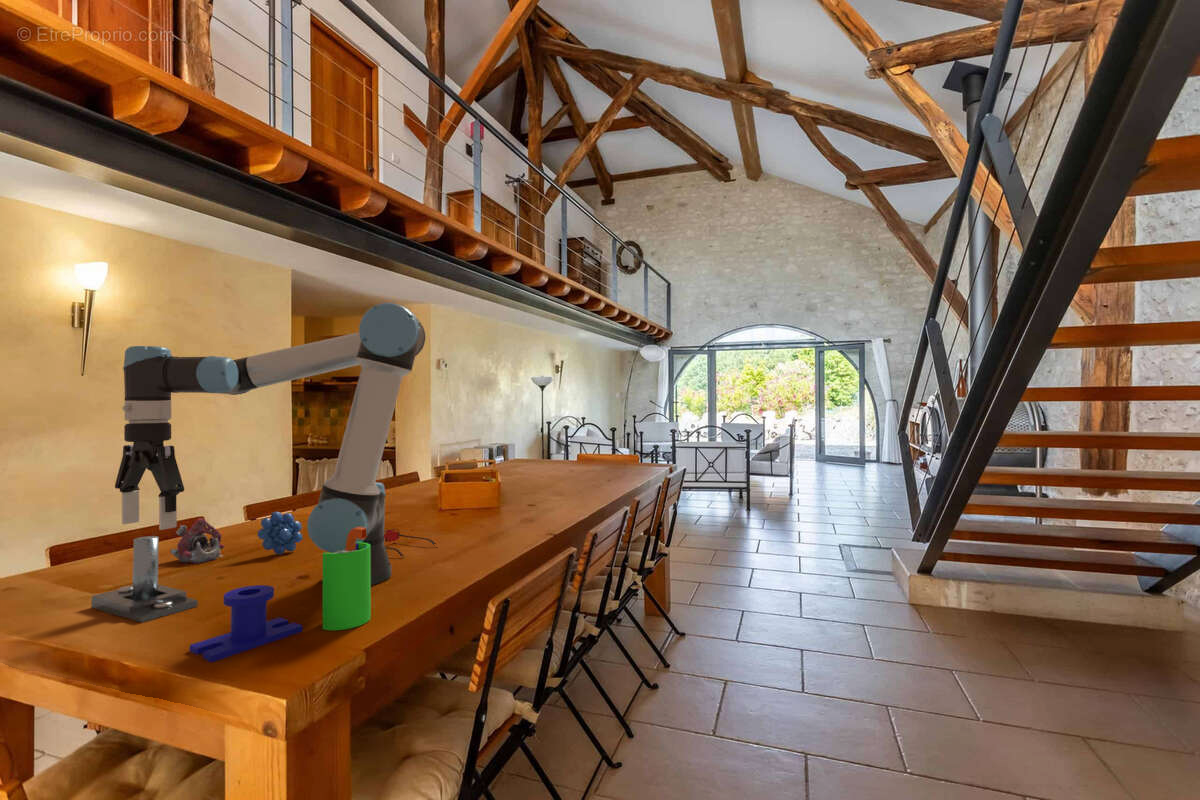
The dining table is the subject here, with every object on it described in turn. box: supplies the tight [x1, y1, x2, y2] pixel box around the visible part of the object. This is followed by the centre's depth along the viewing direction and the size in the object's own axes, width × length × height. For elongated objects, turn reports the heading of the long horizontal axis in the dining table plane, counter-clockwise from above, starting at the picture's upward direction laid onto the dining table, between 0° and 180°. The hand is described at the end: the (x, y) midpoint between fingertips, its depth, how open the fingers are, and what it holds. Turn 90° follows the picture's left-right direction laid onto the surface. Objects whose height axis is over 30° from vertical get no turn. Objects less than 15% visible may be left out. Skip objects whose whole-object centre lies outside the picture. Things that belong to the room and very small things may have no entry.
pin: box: [132, 535, 160, 601], centre depth 115 cm, size 4×4×14 cm
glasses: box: [384, 528, 436, 557], centre depth 162 cm, size 14×16×5 cm
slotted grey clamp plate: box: [91, 584, 199, 623], centre depth 115 cm, size 18×10×3 cm, turn 65°
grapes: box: [256, 511, 304, 555], centre depth 156 cm, size 12×7×12 cm, turn 141°
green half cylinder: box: [322, 527, 372, 631], centre depth 108 cm, size 9×8×18 cm
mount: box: [189, 584, 303, 663], centre depth 99 cm, size 15×8×9 cm, turn 148°
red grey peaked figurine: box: [169, 517, 225, 564], centre depth 151 cm, size 11×11×12 cm
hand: (148, 525), depth 115 cm, fingers open, 13 cm apart
